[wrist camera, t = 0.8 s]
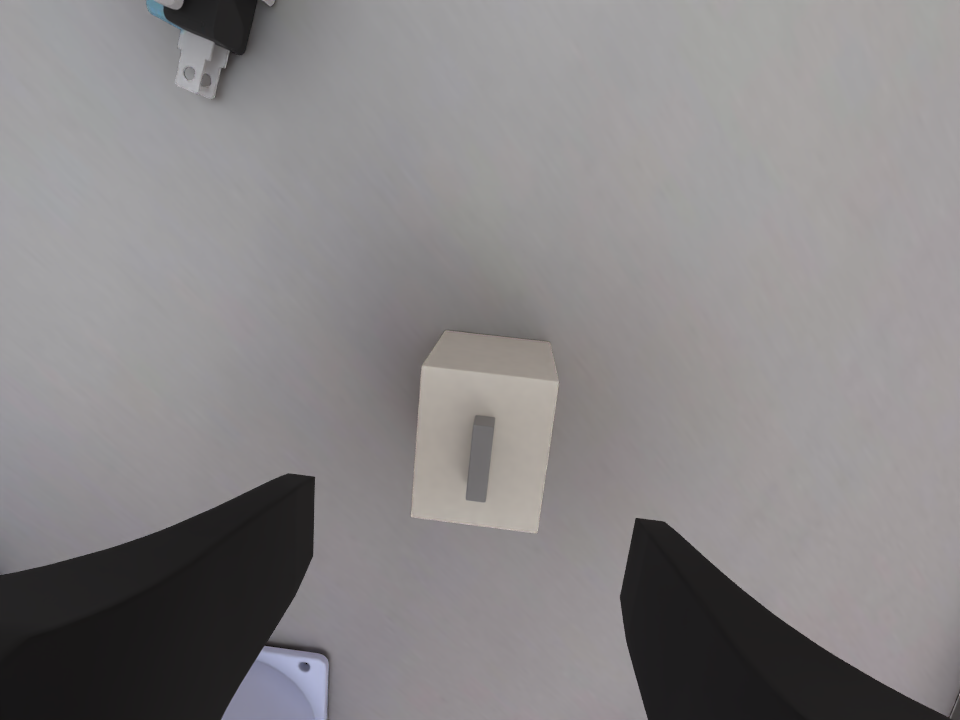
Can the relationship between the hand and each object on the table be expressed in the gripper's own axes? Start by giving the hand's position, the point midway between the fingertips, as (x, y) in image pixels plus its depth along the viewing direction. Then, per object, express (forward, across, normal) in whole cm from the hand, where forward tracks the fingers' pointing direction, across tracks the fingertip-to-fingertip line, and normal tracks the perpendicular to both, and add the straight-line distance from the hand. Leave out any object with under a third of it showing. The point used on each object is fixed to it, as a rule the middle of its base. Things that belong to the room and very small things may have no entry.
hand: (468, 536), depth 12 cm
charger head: (+9, 0, 0) cm, 9 cm away
